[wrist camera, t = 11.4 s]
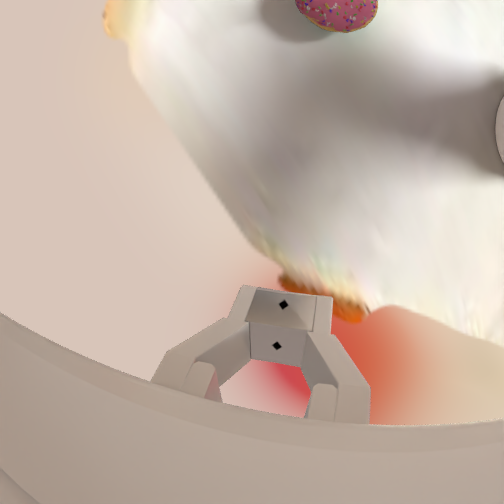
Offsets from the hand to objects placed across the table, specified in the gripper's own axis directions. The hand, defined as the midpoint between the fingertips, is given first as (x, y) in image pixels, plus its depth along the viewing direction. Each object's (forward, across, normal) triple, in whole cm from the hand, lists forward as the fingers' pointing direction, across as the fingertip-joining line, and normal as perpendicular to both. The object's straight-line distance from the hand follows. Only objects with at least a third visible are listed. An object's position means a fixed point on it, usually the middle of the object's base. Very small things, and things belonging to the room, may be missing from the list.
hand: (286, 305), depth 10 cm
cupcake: (+30, +2, +17) cm, 35 cm away
